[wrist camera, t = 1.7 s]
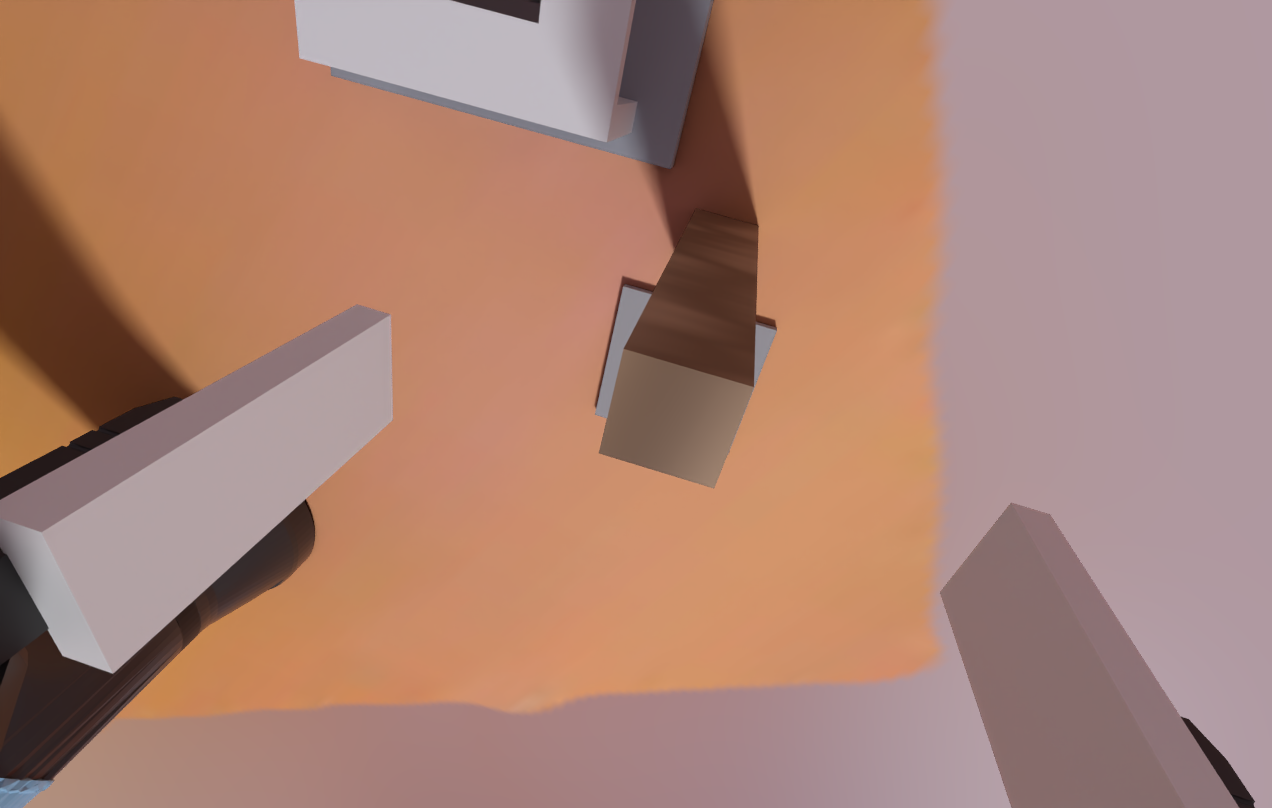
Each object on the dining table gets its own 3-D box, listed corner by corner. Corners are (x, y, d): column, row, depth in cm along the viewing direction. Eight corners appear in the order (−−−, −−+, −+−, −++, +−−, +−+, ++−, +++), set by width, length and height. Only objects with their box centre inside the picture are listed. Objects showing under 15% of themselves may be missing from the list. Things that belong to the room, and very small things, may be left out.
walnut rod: (679, 269, 27) (598, 453, 14) (696, 208, 26) (623, 348, 12) (738, 285, 27) (714, 488, 14) (758, 225, 26) (754, 387, 12)
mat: (596, 411, 33) (595, 414, 32) (625, 283, 28) (623, 286, 28) (728, 450, 32) (727, 454, 32) (776, 327, 28) (776, 330, 28)
